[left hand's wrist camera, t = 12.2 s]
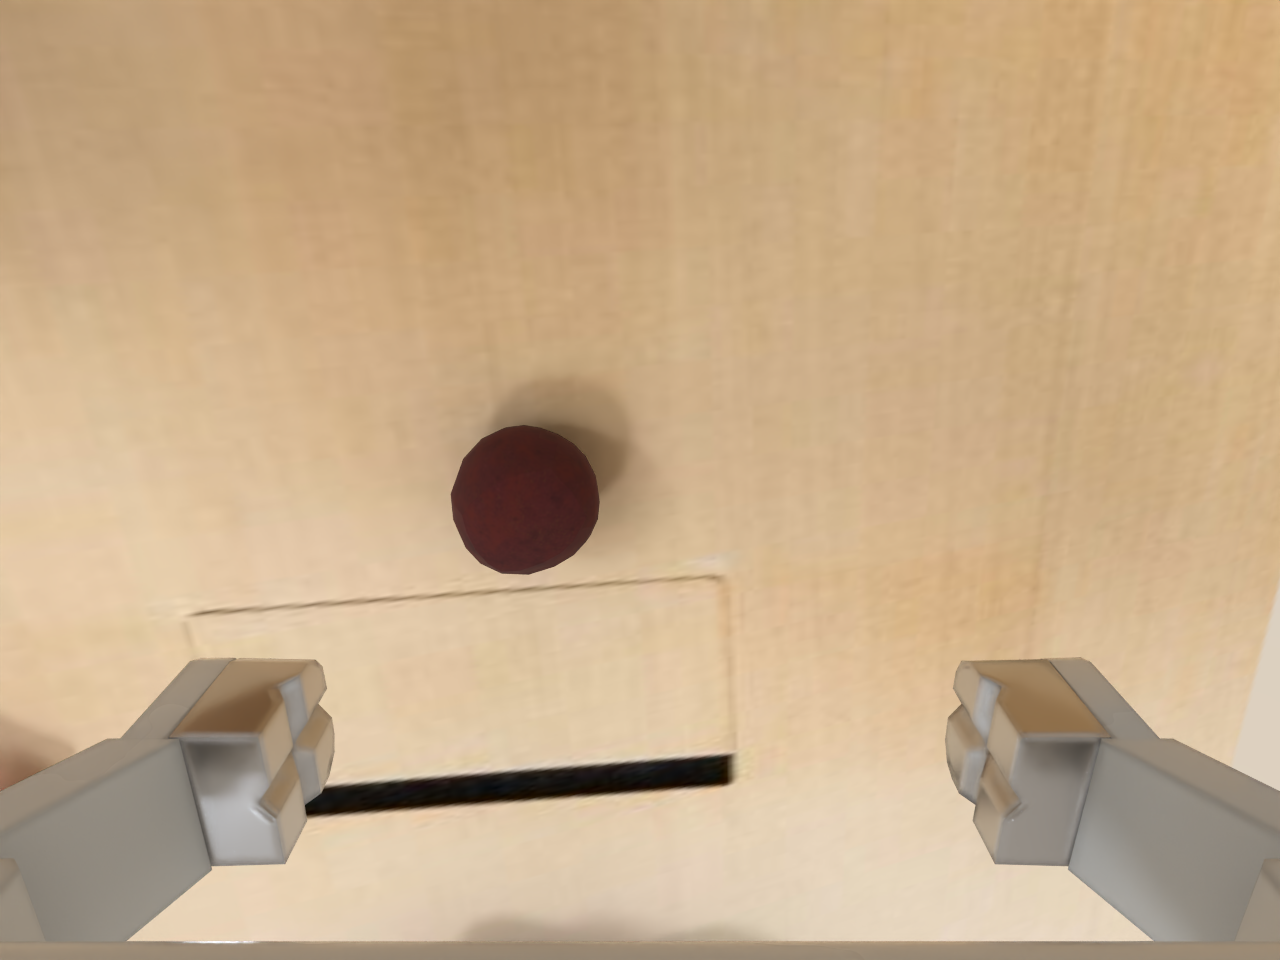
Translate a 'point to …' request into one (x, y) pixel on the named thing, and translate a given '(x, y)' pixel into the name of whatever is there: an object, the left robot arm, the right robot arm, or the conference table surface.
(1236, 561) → the conference table surface
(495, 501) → the dark maroon ball
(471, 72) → the conference table surface
